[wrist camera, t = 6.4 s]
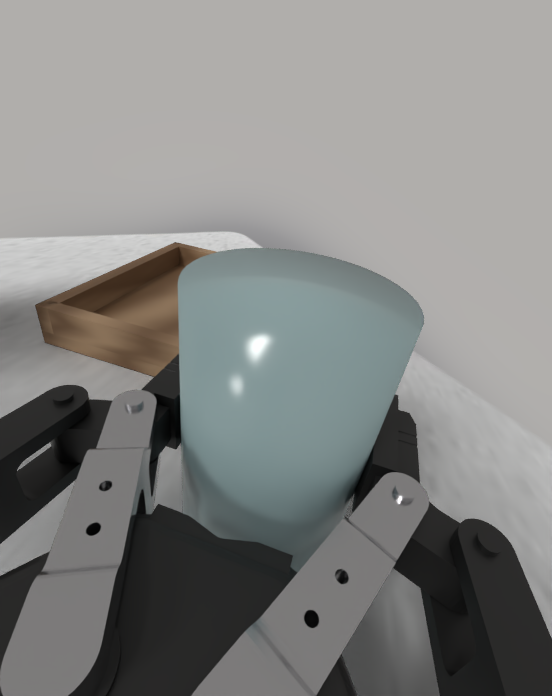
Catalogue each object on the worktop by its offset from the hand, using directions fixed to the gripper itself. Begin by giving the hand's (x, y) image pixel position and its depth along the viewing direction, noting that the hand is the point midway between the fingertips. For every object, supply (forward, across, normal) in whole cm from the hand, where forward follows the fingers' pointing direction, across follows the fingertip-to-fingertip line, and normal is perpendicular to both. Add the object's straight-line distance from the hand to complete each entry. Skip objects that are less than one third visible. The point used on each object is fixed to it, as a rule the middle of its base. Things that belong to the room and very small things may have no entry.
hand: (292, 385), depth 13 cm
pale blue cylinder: (-2, 0, +7) cm, 7 cm away
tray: (+15, +11, +7) cm, 19 cm away
